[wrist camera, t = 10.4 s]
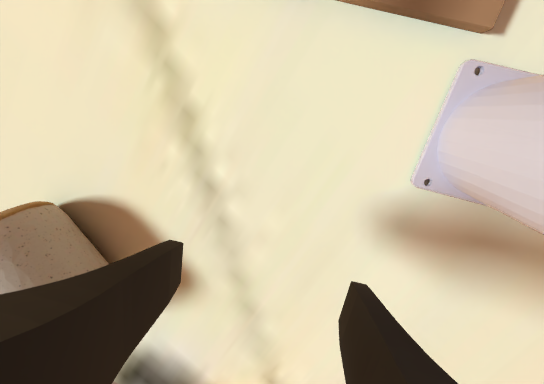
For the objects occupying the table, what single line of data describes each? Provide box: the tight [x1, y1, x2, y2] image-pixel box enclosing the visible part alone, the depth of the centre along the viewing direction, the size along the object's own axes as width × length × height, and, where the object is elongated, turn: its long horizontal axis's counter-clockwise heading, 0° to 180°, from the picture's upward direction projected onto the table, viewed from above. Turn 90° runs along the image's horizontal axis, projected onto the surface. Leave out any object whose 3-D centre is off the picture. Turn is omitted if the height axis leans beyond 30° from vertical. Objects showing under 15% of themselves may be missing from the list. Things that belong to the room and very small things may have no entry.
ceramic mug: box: [0, 201, 109, 294], centre depth 20 cm, size 11×8×8 cm
